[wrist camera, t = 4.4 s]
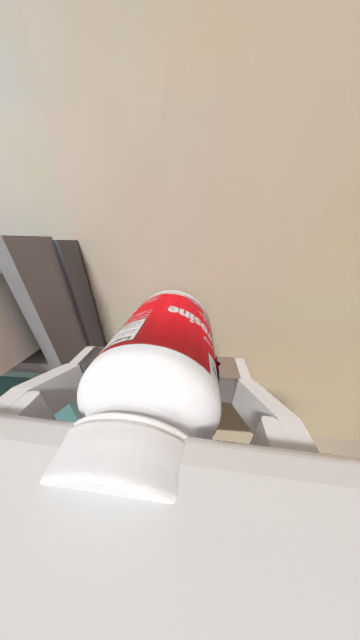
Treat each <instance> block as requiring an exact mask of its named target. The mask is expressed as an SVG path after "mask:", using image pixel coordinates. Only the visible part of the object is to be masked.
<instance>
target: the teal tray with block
mask: <svg viewBox="0 0 360 640" xmlns="http://www.w3.org/2000/svg"><path fill="white" fill-rule="evenodd" d="M87 346H95V347H96V346H97V347H106V345H105V341H104V337H103V334H102V330H101V326H100V323H99V319H98V315H97V312H96V308H95V304H94V300H93V297H92V293H91V289H90V286H89V282H88V278H87V275H86V271H85V267H84V263H83V260H82V256H81V252H80V249H79V245H78V241H77V240H53V239H52V237H38V236H4V235H0V397H1V396H2V395H3V394H5V393H6V392H7V391H8V390H10V389H11V388H12V387H14V386H17V385H19V384H21V383H23V382H26V381H28V380H30V379H32V378H34V377H37V376H39V375H41V374H43V373H46V372H48V371H50V370H52V369H55V368H57V367H59V366H61V365H64V364H68V363H69V362H71V361H72V360H73V359H74V358H75V357H76V356H77V355H78V354H79V353H80V352H81V351H82V350H83V349H84V348H85V347H87ZM54 416H55V418H56V419H57V420H59V421H67V422H76V421H78V420H79V419H81V416H80V413H79V410H78V405H77V398H76V399H75V400H74V401H72V402H71V403H70V404H68V405H67V406H66V407H64V408H63V409H62V410H60V411H59V412H57V413H56V414H55V415H54Z"/></svg>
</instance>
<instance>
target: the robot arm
mask: <svg viewBox="0 0 360 640" xmlns="http://www.w3.org/2000/svg"><path fill="white" fill-rule="evenodd" d="M104 348H105V347H97V346H96V347H95V346H87V347H85V348H84V349H83V350H82V351H81V352H80V353H79V354H78V355H77V356H76V357H75V358H74V359H73V360H72V361H71V362H69V363H68V364H64V365H61V366H59V367H57V368H55V369H52V370H50V371H48V372H46V373H43V374H41V375H39V376H37V377H34V378H32V379H30V380H28V381H26V382H23V383H21V384H19V385H17V386H14V387H12V388H11V389H10V390H8V391H7V392H6V393H5V394H3V395H2V396H1V397H0V640H360V458H355V457H347V456H339V455H330V454H323V453H319V451H318V449H317V447H316V446H315V444H314V442H313V440H312V439H311V437H310V435H309V433H308V432H307V430H306V428H305V426H304V425H303V423H302V421H301V419H300V418H299V417H297V416H296V415H295V414H294V413H293V412H291V411H290V410H289V409H288V408H287V407H286V406H284V405H283V404H282V403H281V402H280V401H278V400H277V399H276V398H275V397H274V396H273V395H271V394H270V393H269V392H268V391H267V390H265V389H264V388H263V387H262V386H261V385H260V384H258V383H257V382H256V381H253V380H252V379H251V376H250V374H249V371H248V368H247V366H246V363H245V361H244V359H243V358H236V357H234V358H233V357H219V356H216V358H215V362H216V369H217V375H218V382H219V389H220V396H221V402H225V403H232V405H233V407H234V408H235V410H236V411H237V412H238V414H239V415H240V416H241V418H242V419H243V421H244V422H245V423H246V425H247V426H248V427H249V429H250V430H251V432H252V433H253V434H254V436H253V438H252V440H251V443H250V444H243V443H235V442H227V441H219V440H211V439H203V438H195V437H188V438H186V439H183V440H184V442H185V448H184V452H183V456H182V459H181V463H180V470H179V482H178V498H177V500H176V502H175V504H164V503H158V502H152V501H146V500H140V499H134V498H128V497H121V496H115V495H109V494H103V493H96V492H89V491H83V490H76V489H68V488H61V487H55V486H48V485H42V484H40V480H41V477H42V476H43V474H44V472H45V471H46V469H47V468H48V466H49V464H50V463H51V461H52V460H53V458H54V456H55V455H56V453H57V451H58V450H59V448H60V447H61V445H62V443H63V441H64V439H65V437H66V435H67V433H68V431H69V430H70V429H71V428H73V427H75V425H74V423H75V422H67V421H59V420H57V419H56V418H55V416H54V415H55V414H56V413H57V412H59V411H60V410H62V409H63V408H64V407H66V406H67V405H68V404H70V403H71V402H72V401H74V400H75V399H76V398H77V391H78V386H79V383H80V380H81V378H82V376H83V374H84V372H85V371H86V369H87V368H88V367H89V366H90V364H91V363H92V362H93V360H94V359H95V358H96V357H97V356H98V355H99V353H100V352H101V351H102V350H103V349H104Z"/></svg>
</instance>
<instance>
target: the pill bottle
mask: <svg viewBox="0 0 360 640" xmlns="http://www.w3.org/2000/svg"><path fill="white" fill-rule="evenodd" d="M77 405H78V410H79V413H80V416H81V419H79V420H78V421H76V422H75V423H74V425H75V427H73V428H71V429H70V430H69V431H68V433H67V435H66V437H65V439H64V441H63V443H62V445H61V447H60V448H59V450H58V451H57V453H56V455H55V456H54V458H53V460H52V461H51V463H50V464H49V466H48V468H47V469H46V471H45V472H44V474H43V476H42V477H41V480H40V484H42V485H48V486H55V487H61V488H68V489H76V490H83V491H89V492H96V493H103V494H109V495H115V496H121V497H128V498H134V499H140V500H146V501H152V502H158V503H164V504H175V502H176V500H177V498H178V482H179V470H180V463H181V459H182V456H183V452H184V448H185V442H184V440H183V439H186V438H188V437H195V438H203V439H212V437H213V436H214V434H215V432H216V430H217V428H218V426H219V423H220V419H221V411H222V409H221V396H220V389H219V382H218V375H217V369H216V362H215V355H214V348H213V341H212V335H211V329H210V323H209V318H208V315H207V313H206V311H205V309H204V307H203V306H202V304H201V303H200V302H199V301H198V300H197V299H196V298H194V297H193V296H191V295H189V294H187V293H185V292H182V291H177V290H166V291H161V292H158V293H156V294H154V295H152V296H150V297H149V298H148V299H147V300H146V301H145V302H144V303H143V304H142V305H141V306H140V307H139V308H138V310H137V311H136V312H135V313H134V314H133V315H132V317H131V318H130V319H129V320H128V321H127V322H126V323H125V325H124V326H123V327H122V328H121V329H120V330H119V332H118V333H117V334H116V335H115V336H114V337H113V339H112V340H111V341H110V342H109V343H108V344H107V345H106V347H105V348H104V349H103V350H102V351H101V352H100V353H99V355H98V356H97V357H96V358H95V359H94V360H93V362H92V363H91V364H90V366H89V367H88V368H87V369H86V371H85V372H84V374H83V376H82V378H81V380H80V383H79V386H78V391H77Z"/></svg>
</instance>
